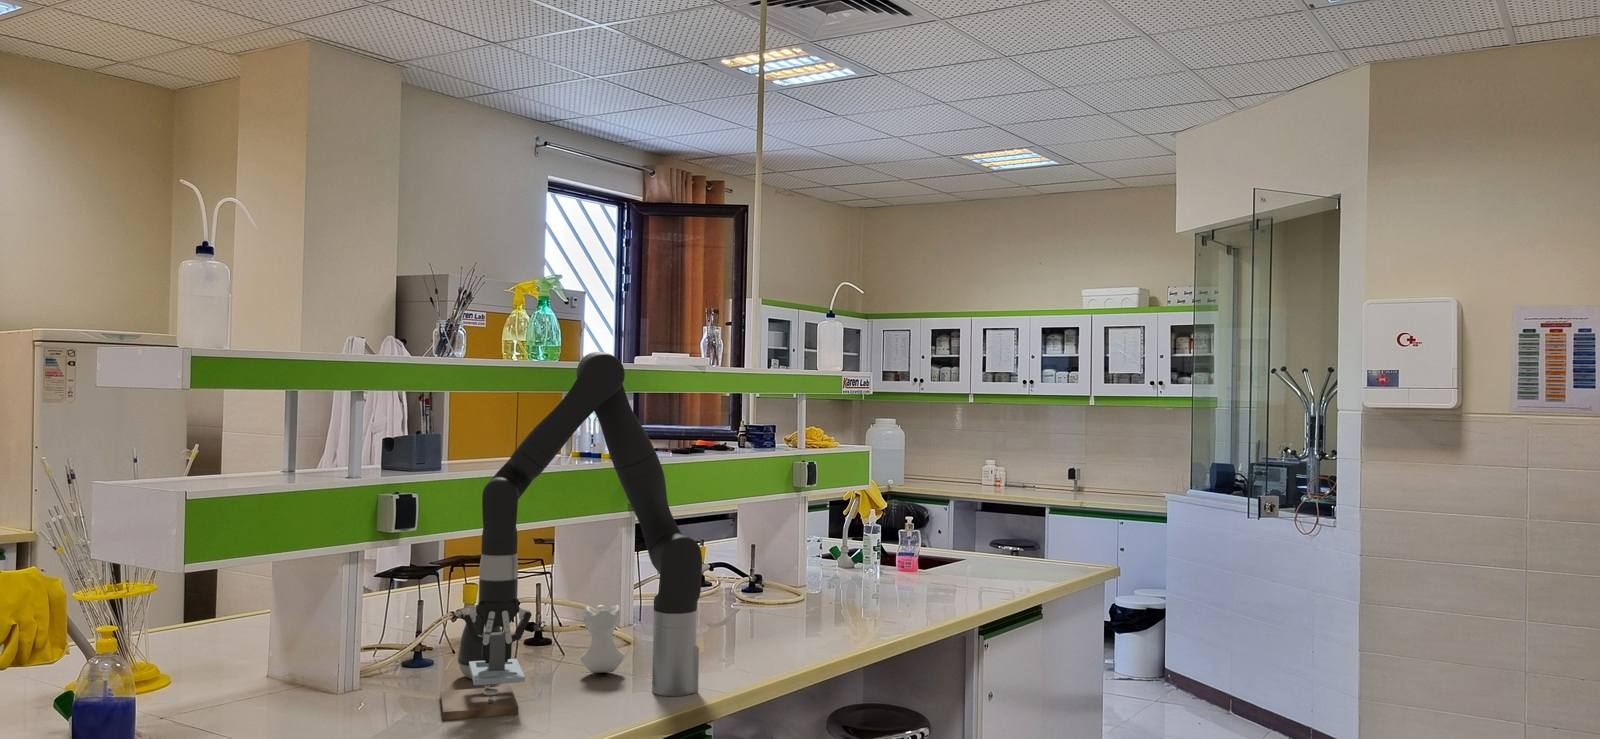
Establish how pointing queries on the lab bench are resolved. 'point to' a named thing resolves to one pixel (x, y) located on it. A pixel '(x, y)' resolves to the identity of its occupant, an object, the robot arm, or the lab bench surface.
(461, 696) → the walnut board
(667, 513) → the robot arm
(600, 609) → the white scalloped vase
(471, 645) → the pump dispenser
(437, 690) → the lab bench surface
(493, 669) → the keyhole panel
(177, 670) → the lab bench surface
